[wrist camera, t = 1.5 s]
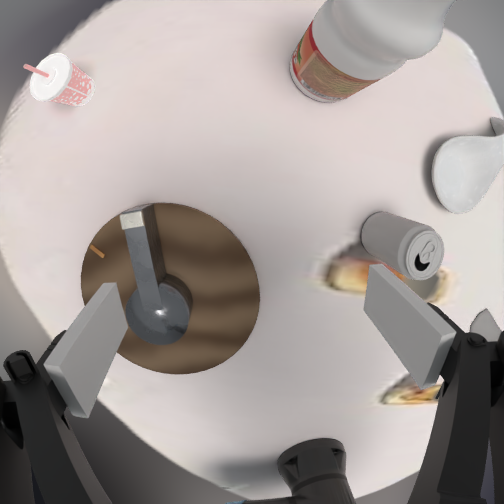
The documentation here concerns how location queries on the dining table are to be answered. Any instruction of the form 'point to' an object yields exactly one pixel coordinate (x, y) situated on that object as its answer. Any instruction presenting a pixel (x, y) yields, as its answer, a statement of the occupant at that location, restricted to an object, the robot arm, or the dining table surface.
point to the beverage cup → (60, 81)
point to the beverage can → (403, 245)
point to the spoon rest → (467, 168)
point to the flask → (486, 326)
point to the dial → (153, 283)
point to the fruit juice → (363, 43)
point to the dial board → (196, 279)
